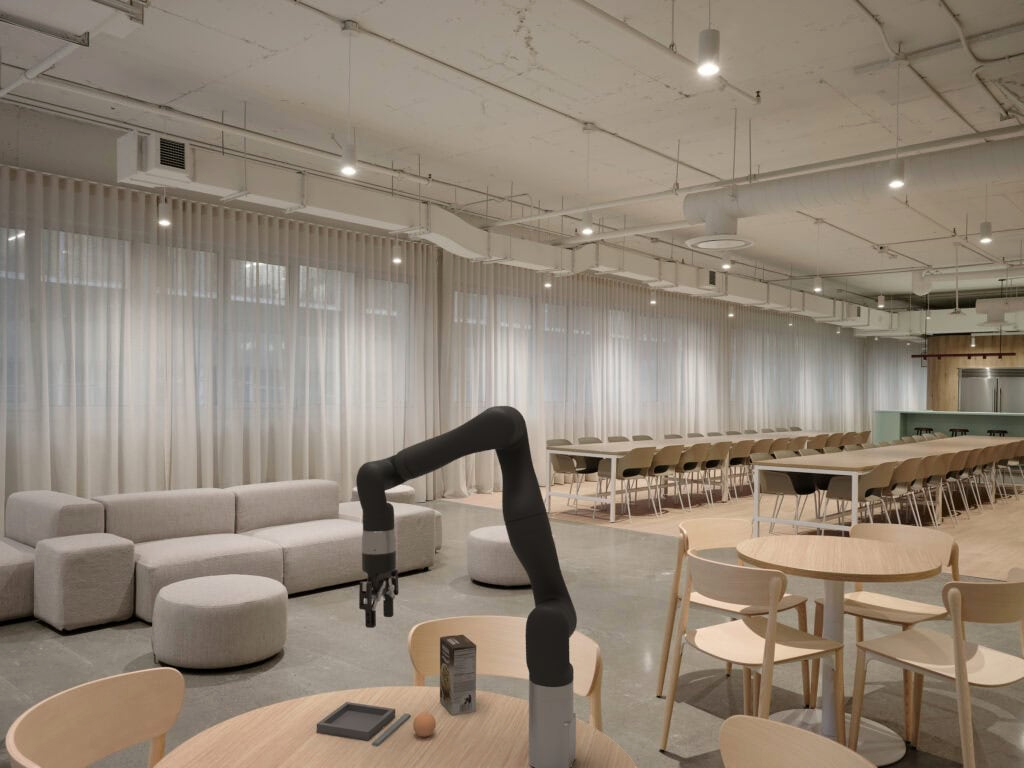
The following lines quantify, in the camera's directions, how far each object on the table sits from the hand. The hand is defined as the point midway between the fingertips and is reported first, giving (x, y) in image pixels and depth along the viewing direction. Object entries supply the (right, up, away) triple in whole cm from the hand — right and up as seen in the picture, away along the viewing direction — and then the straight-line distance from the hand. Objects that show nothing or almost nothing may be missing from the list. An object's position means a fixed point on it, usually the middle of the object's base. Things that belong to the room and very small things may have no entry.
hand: (379, 621), depth 173 cm
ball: (+10, -23, -1) cm, 25 cm away
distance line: (+3, -25, +1) cm, 25 cm away
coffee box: (+16, -26, +15) cm, 34 cm away
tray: (-6, -25, +4) cm, 26 cm away
